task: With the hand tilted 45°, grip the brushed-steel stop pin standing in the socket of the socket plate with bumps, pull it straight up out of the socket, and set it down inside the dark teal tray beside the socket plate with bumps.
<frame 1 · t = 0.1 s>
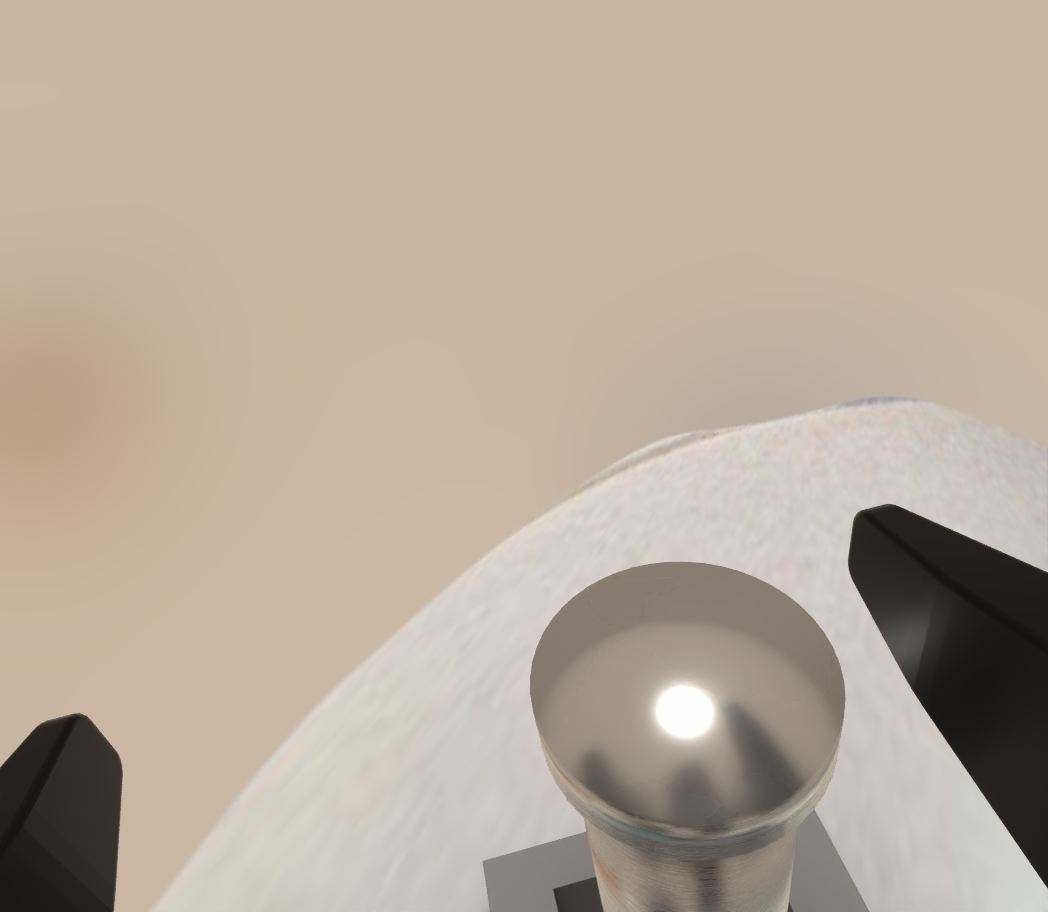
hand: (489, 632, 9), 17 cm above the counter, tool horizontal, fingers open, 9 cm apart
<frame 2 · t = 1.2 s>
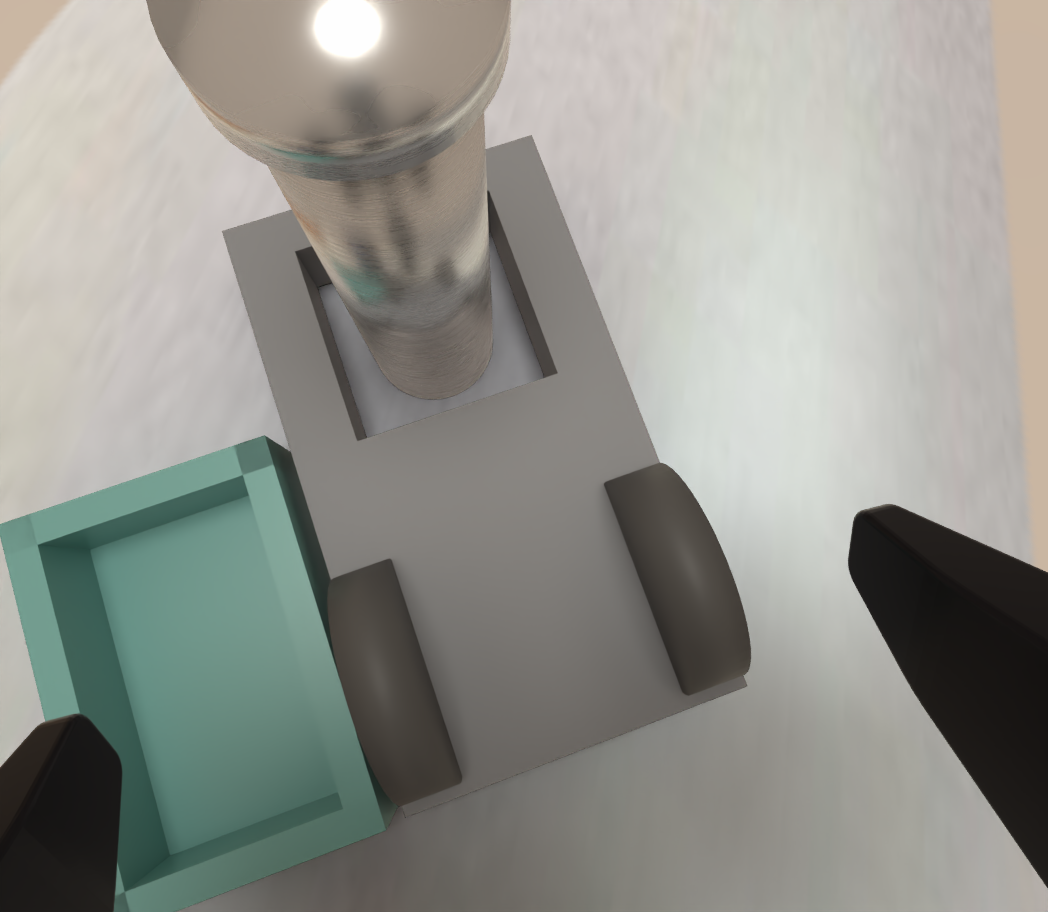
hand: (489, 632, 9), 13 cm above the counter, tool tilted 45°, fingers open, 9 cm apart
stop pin: (433, 341, 23), resting in socket plate with bumps
tray: (230, 661, 21), on the counter
socket plate with bumps: (476, 464, 22), on the counter
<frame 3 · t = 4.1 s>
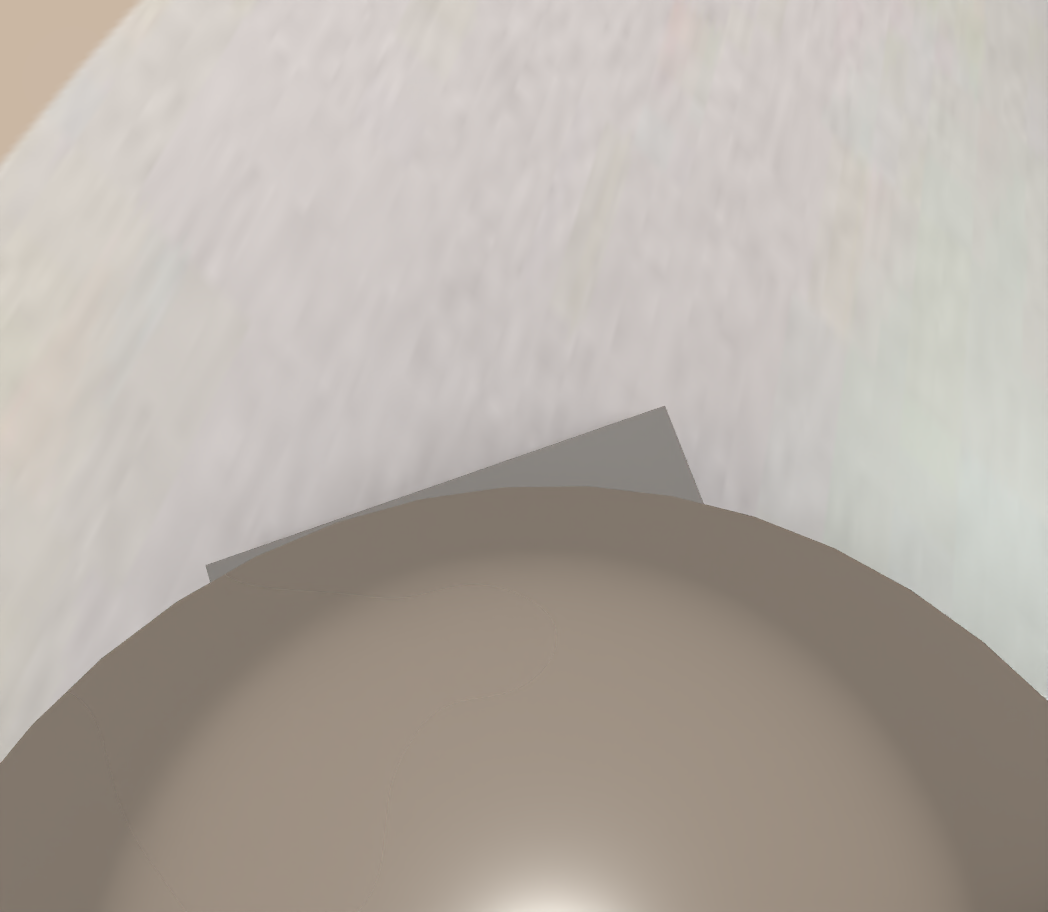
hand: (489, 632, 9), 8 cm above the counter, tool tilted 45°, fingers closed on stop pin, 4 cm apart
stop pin: (511, 676, 16), resting in socket plate with bumps, touching gripper
socket plate with bumps: (577, 868, 15), on the counter
when the fingers open (10 cm above the counter, at t = 7.9 s): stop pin drops 1 cm, resting on tray.
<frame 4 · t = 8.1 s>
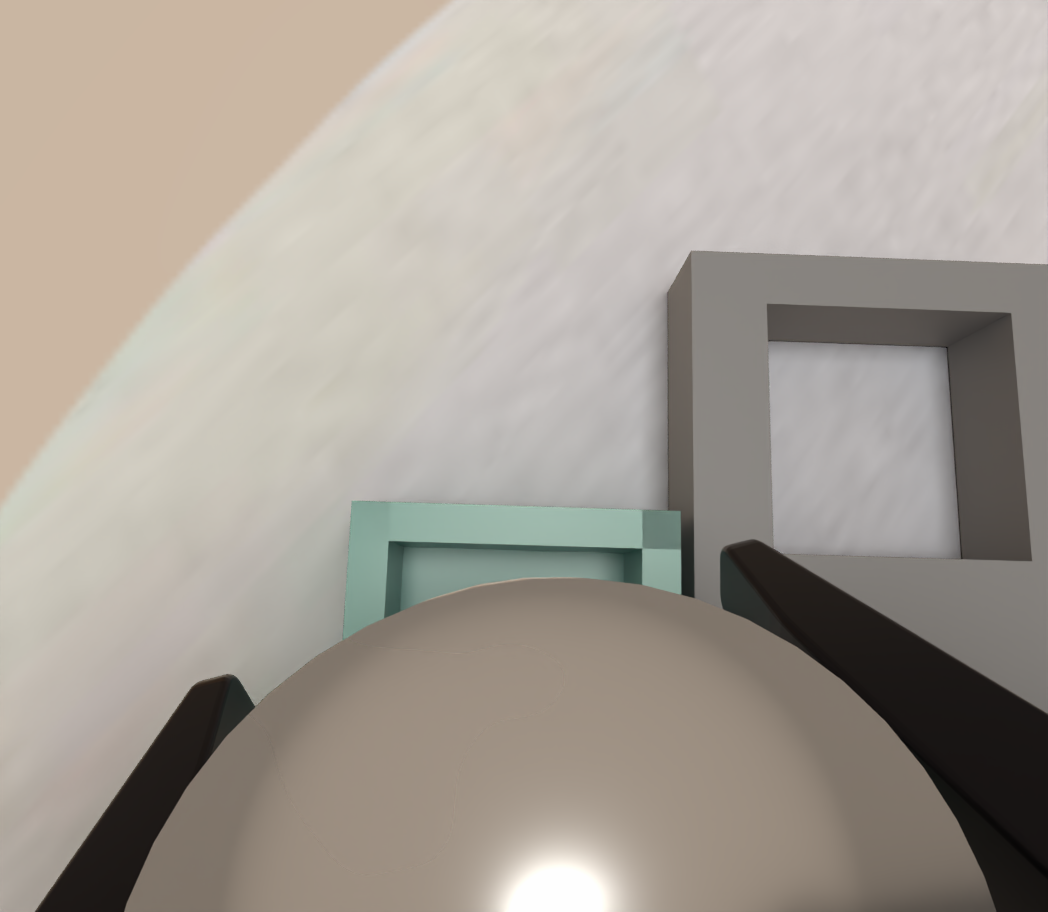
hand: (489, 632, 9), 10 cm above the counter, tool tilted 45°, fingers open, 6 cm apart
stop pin: (511, 670, 17), point 1 cm above the counter, touching tray
tray: (508, 731, 18), on the counter
socket plate with bumps: (852, 610, 18), on the counter
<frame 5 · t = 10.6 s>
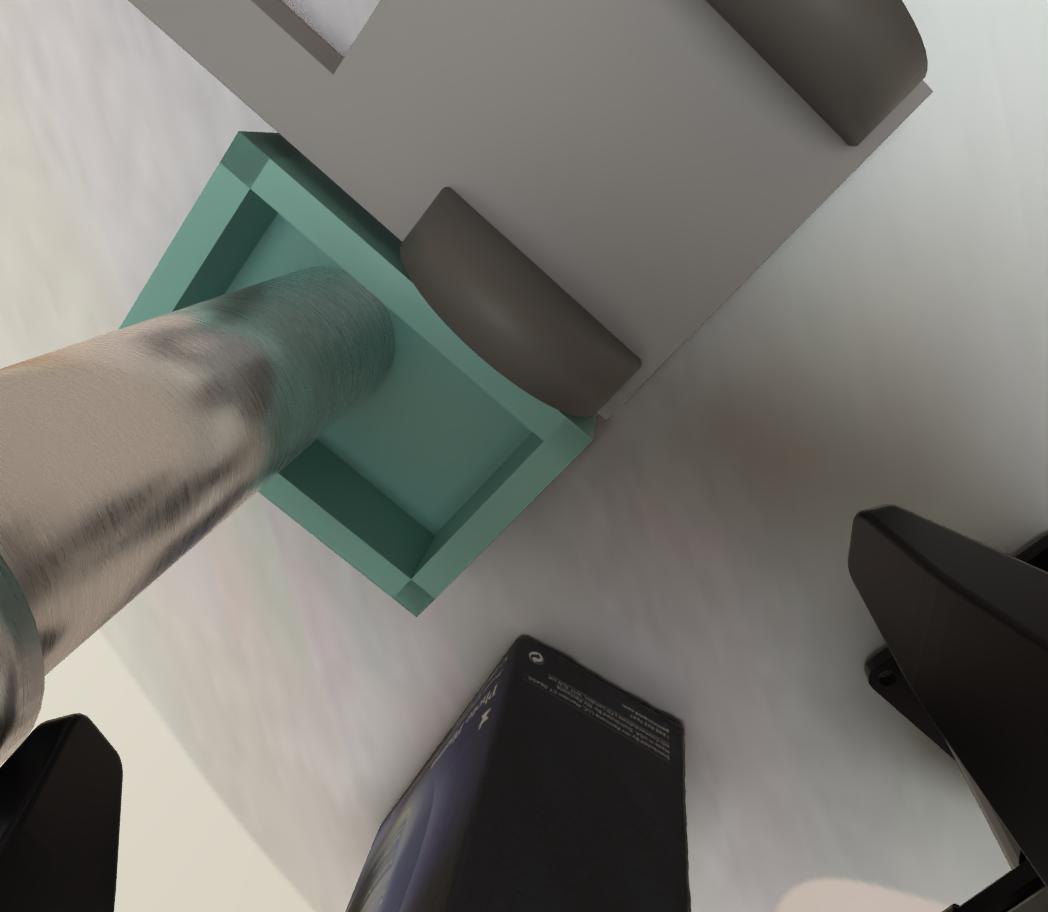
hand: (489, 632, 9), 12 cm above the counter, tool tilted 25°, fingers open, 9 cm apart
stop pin: (328, 336, 20), point 1 cm above the counter, touching gripper, tray
tray: (378, 367, 21), on the counter
small box: (519, 773, 26), on the counter
socket plate with bumps: (485, 16, 17), on the counter
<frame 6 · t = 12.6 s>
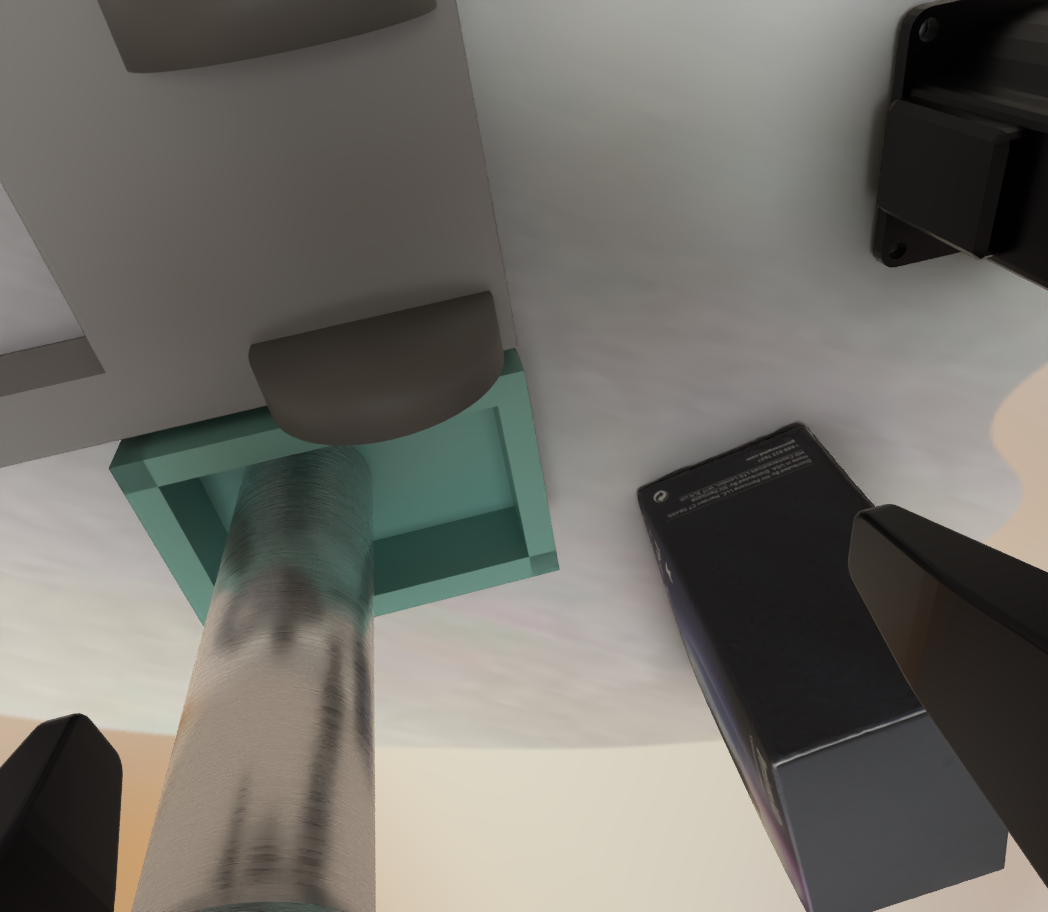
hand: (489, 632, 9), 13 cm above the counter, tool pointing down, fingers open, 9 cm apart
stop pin: (309, 486, 22), point 1 cm above the counter, touching tray
tray: (358, 461, 22), on the counter
small box: (736, 555, 28), on the counter
socket plate with bumps: (128, 205, 17), on the counter
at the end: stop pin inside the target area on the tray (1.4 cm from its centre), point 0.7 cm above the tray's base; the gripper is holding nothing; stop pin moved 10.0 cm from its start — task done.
